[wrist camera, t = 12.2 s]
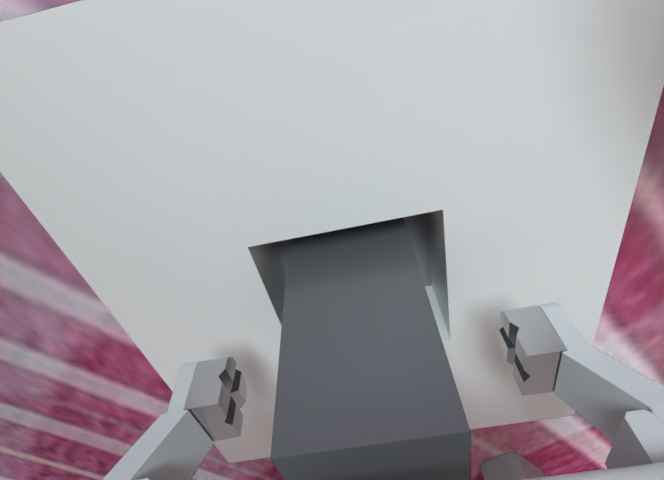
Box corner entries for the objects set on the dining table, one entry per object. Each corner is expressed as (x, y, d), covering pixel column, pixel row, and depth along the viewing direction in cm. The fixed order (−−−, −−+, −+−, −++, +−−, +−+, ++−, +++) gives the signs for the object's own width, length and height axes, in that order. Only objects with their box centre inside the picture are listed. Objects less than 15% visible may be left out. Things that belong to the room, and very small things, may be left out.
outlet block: (12, 19, 12) (-97, 48, 9) (605, -140, 10) (734, -174, 7) (240, 392, 24) (228, 463, 21) (536, 346, 22) (573, 415, 19)
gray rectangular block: (291, 215, 15) (270, 458, 8) (395, 194, 15) (470, 431, 8) (315, 289, 18) (315, 529, 11) (406, 273, 17) (471, 511, 10)
